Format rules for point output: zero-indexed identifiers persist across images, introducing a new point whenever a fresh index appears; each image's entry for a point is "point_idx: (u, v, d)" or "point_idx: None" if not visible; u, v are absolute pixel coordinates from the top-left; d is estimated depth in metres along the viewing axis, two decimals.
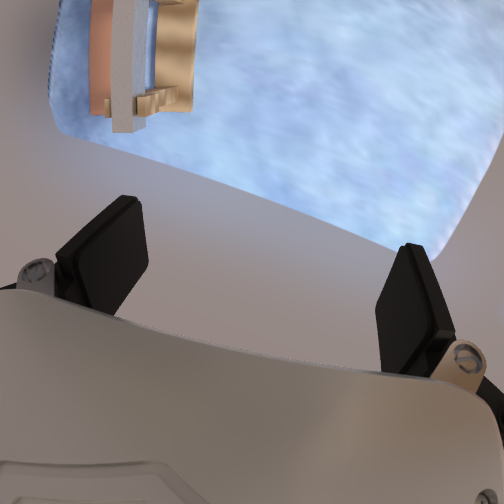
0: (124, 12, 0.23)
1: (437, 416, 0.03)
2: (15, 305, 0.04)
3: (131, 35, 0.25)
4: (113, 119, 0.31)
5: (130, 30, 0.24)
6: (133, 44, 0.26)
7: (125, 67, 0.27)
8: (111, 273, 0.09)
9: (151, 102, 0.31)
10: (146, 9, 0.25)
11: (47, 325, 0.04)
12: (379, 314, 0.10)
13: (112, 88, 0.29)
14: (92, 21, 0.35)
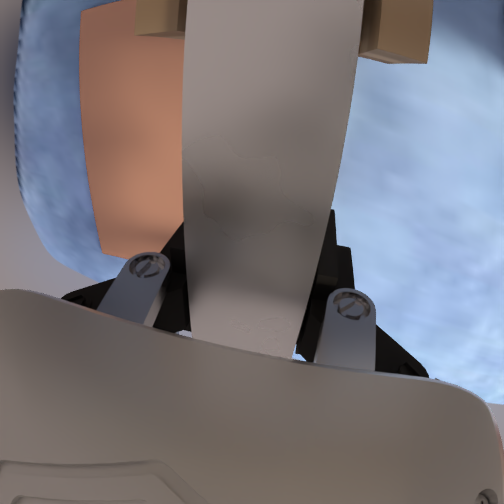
0: (263, 187, 0.06)
1: (437, 416, 0.03)
2: (15, 305, 0.04)
3: (294, 309, 0.07)
4: None
5: (295, 293, 0.07)
6: (297, 334, 0.08)
7: None
8: None
9: None
10: None
11: (47, 325, 0.04)
12: None
13: None
14: (83, 66, 0.18)
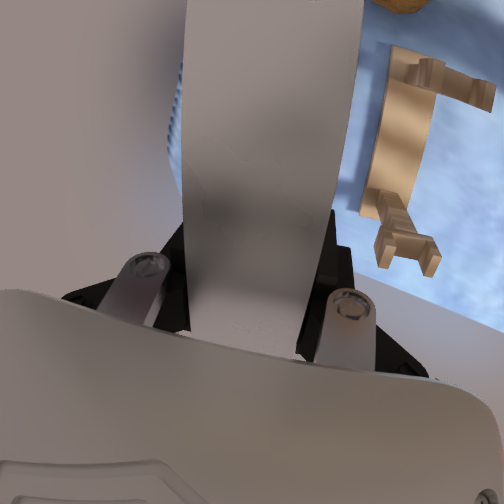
0: (262, 190, 0.06)
1: (437, 416, 0.03)
2: (15, 305, 0.04)
3: (293, 312, 0.07)
4: None
5: (294, 295, 0.07)
6: (297, 336, 0.08)
7: None
8: None
9: None
10: None
11: (47, 325, 0.04)
12: None
13: None
14: None
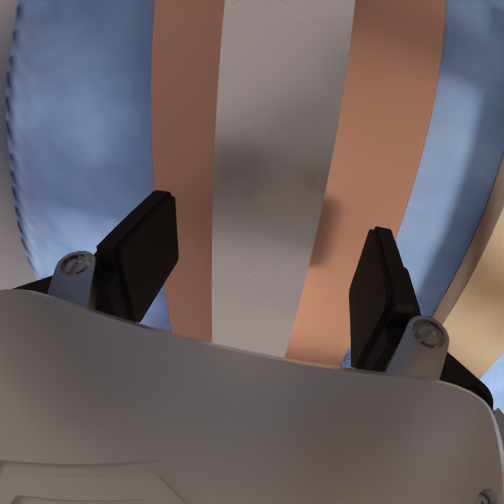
0: (277, 157, 0.08)
1: (437, 416, 0.03)
2: (15, 305, 0.04)
3: (300, 261, 0.09)
4: None
5: (301, 246, 0.09)
6: (303, 286, 0.10)
7: (265, 338, 0.11)
8: (148, 266, 0.10)
9: None
10: None
11: (47, 325, 0.04)
12: (351, 297, 0.11)
13: None
14: (163, 53, 0.09)
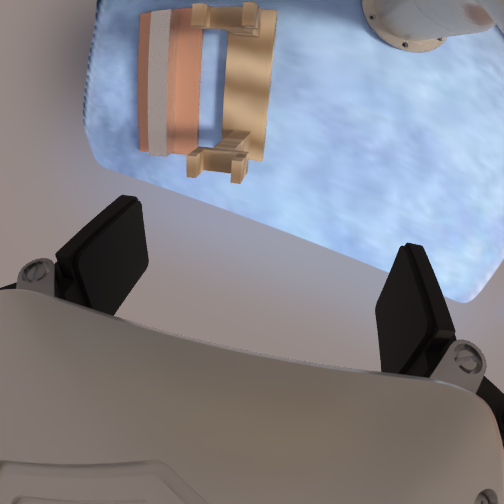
0: (159, 57, 0.34)
1: (437, 416, 0.03)
2: (15, 304, 0.04)
3: (165, 77, 0.35)
4: (149, 144, 0.42)
5: (164, 74, 0.35)
6: (167, 85, 0.36)
7: (160, 103, 0.38)
8: (111, 273, 0.09)
9: (244, 165, 0.31)
10: (175, 54, 0.35)
11: (47, 325, 0.04)
12: (379, 314, 0.10)
13: (149, 119, 0.39)
14: (141, 42, 0.35)
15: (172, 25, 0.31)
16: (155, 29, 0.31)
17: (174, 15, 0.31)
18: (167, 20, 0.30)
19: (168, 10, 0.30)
